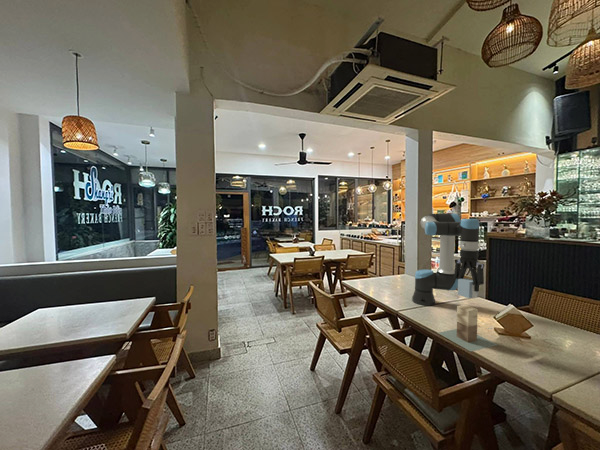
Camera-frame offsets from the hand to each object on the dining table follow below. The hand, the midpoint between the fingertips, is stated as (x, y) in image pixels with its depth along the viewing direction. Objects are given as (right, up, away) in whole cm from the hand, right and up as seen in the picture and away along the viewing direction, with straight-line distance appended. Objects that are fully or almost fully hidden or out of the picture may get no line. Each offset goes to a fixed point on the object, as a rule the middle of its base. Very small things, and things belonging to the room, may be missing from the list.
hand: (467, 295), depth 119 cm
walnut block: (0, -22, +1) cm, 22 cm away
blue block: (0, 0, 0) cm, 0 cm away
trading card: (+18, -23, +22) cm, 37 cm away
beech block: (0, -14, +1) cm, 14 cm away
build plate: (0, -24, +1) cm, 24 cm away
